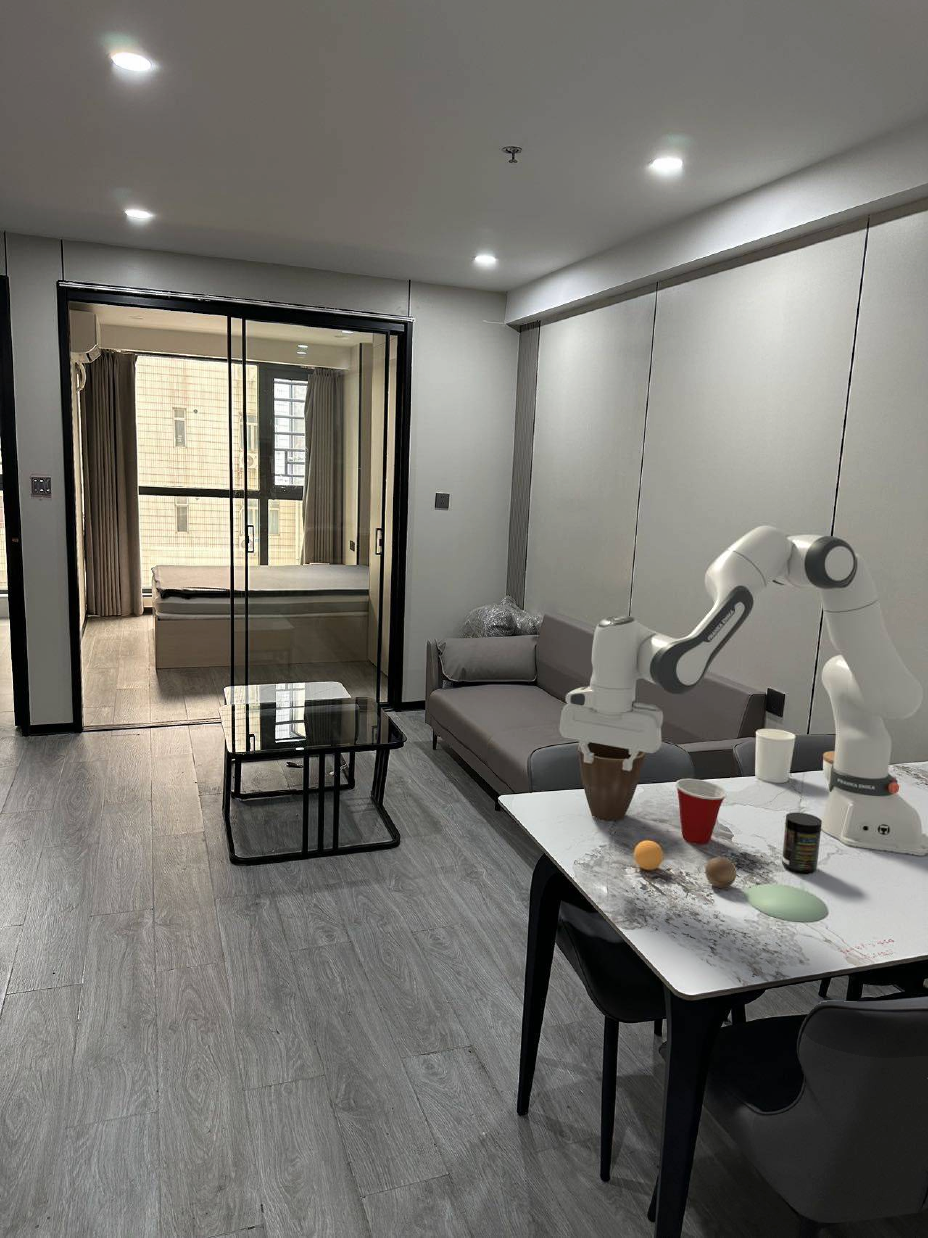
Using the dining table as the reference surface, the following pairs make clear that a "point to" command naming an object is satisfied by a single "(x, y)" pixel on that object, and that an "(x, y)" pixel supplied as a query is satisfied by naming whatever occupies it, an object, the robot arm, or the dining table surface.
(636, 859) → the orange ball
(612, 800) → the plant pot
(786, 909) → the sage mark
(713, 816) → the plastic cup
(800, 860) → the supplement container
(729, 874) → the walnut ball
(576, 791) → the dining table surface
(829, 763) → the lidded jar
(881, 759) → the robot arm
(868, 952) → the dining table surface
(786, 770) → the white tapered cylinder
